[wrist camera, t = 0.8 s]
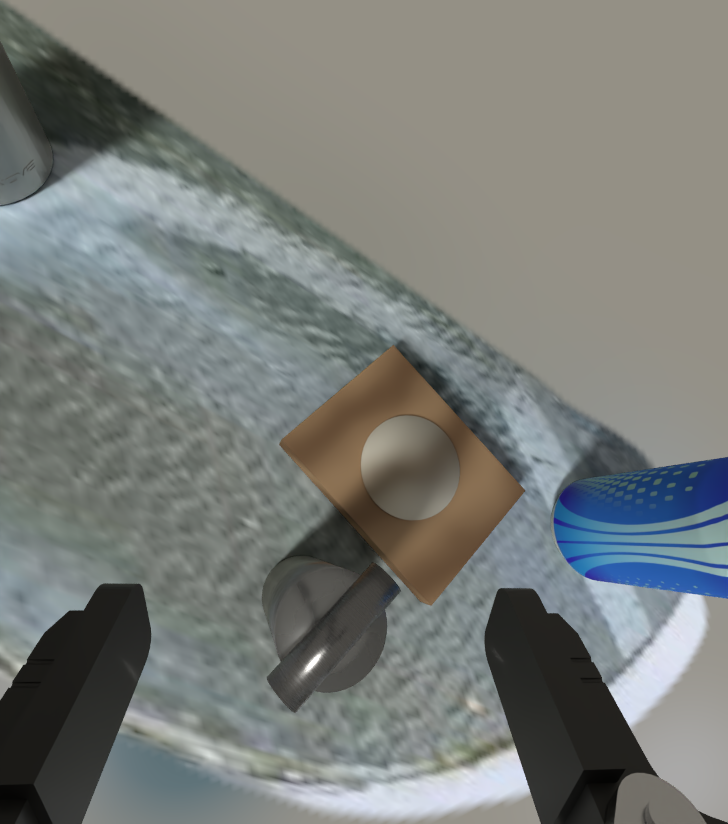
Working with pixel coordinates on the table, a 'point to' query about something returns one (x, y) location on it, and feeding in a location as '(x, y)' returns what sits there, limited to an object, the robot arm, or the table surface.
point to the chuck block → (404, 473)
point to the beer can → (649, 527)
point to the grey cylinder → (324, 625)
